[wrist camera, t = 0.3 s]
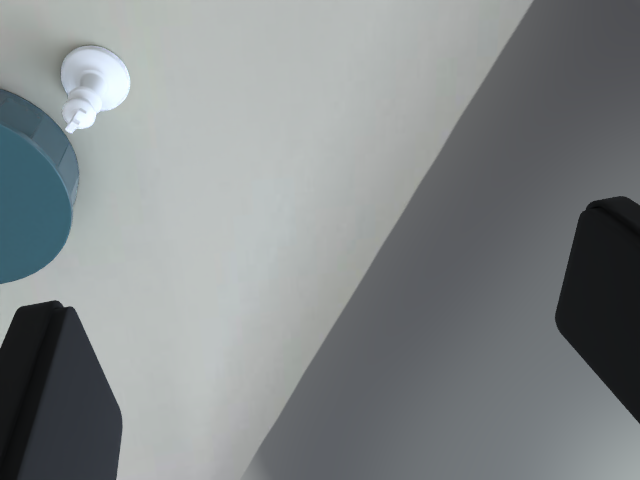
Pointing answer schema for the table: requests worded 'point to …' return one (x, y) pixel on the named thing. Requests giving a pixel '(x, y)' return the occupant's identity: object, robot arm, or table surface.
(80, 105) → the chess piece
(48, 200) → the bowl lid
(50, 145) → the bowl
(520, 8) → the table surface
